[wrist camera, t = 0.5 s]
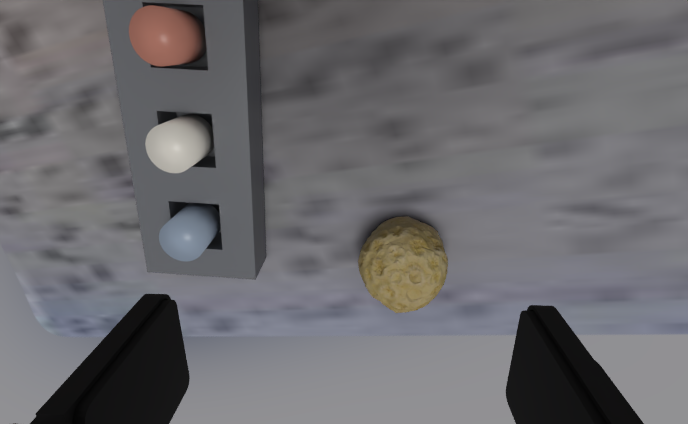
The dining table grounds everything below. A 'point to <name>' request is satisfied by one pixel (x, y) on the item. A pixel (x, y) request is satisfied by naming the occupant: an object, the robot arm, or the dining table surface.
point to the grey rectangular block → (228, 130)
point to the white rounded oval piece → (179, 143)
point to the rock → (403, 264)
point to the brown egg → (167, 36)
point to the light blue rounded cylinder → (190, 231)
